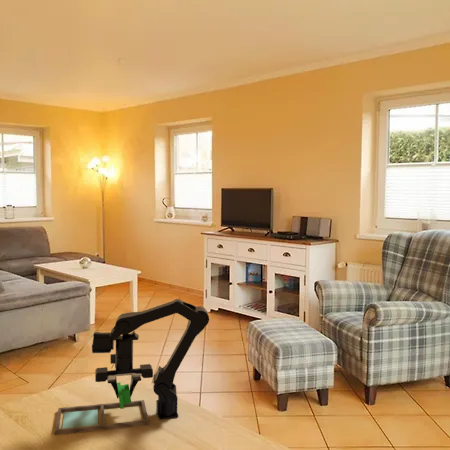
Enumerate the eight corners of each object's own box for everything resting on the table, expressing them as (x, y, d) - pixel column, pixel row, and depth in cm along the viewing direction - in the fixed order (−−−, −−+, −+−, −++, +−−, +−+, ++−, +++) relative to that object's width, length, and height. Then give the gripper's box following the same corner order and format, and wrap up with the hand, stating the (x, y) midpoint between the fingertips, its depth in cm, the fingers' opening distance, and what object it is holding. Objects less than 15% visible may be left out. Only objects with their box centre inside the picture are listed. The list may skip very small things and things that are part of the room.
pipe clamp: (132, 406, 158) (130, 393, 157) (120, 409, 157) (118, 396, 156) (129, 392, 169) (127, 380, 168) (118, 394, 168) (116, 382, 167)
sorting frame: (143, 403, 172) (143, 400, 172) (148, 424, 157) (148, 421, 157) (58, 411, 164) (58, 408, 164) (54, 434, 149) (54, 430, 149)
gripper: (149, 342, 171) (149, 385, 172) (95, 346, 166) (95, 390, 167) (153, 353, 160) (152, 398, 161) (95, 357, 155) (95, 404, 156)
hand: (124, 397), depth 162 cm, fingers closed on pipe clamp, 4 cm apart
